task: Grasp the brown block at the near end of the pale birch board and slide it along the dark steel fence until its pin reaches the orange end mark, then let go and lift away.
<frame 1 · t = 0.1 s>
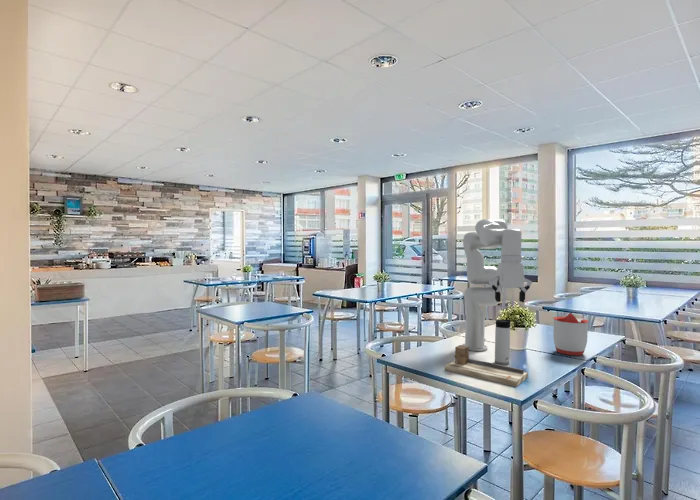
hand: (509, 301, 169), 31 cm above the table, tool pointing down, fingers open, 9 cm apart
brown block: (460, 355, 181), point 6 cm above the table, slide at 0.0 cm
board: (485, 373, 175), on the table
citrus juicer: (570, 353, 209), on the table
travel mug: (502, 363, 190), on the table
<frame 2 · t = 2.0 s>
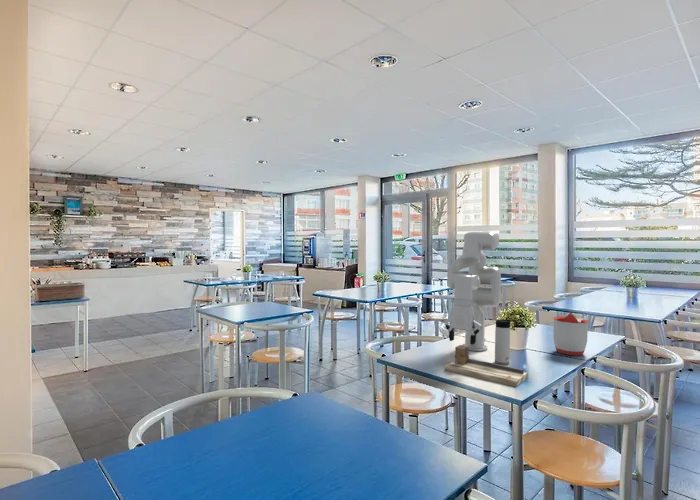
hand: (461, 342, 182), 11 cm above the table, tool pointing down, fingers open, 9 cm apart
nothing on the table moved.
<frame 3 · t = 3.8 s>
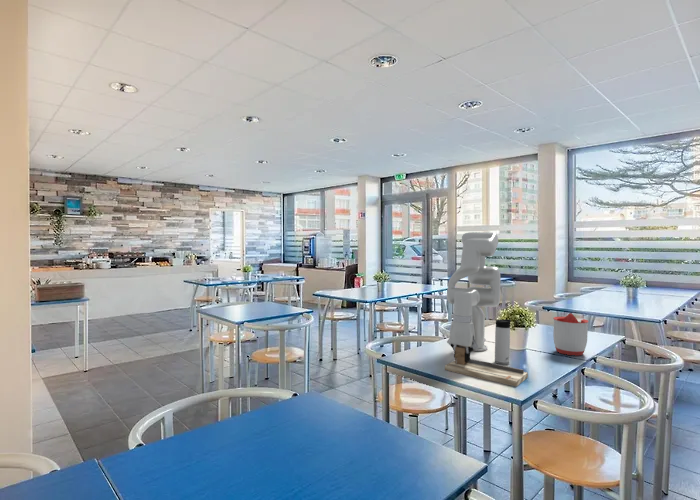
hand: (461, 360, 182), 3 cm above the table, tool pointing down, fingers closed on brown block, 4 cm apart
brown block: (460, 355, 181), point 6 cm above the table, slide at 0.0 cm, touching gripper
everything else where it was.
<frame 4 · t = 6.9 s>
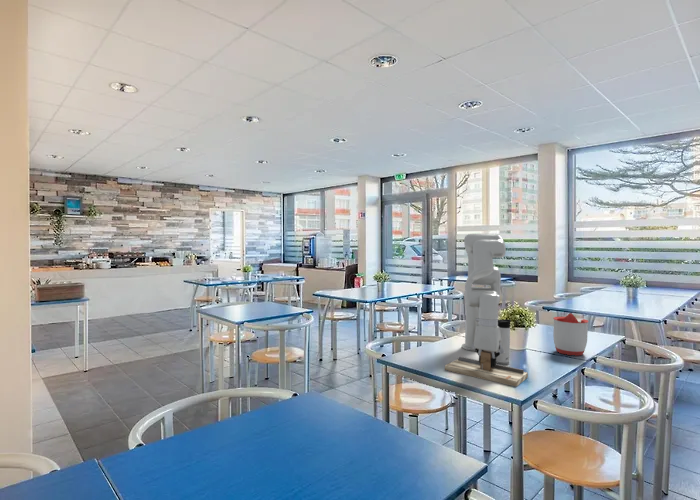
hand: (487, 365, 175), 3 cm above the table, tool pointing down, fingers closed on brown block, 4 cm apart
brown block: (485, 360, 174), point 6 cm above the table, slide at 11.4 cm, touching gripper
everything else where it was.
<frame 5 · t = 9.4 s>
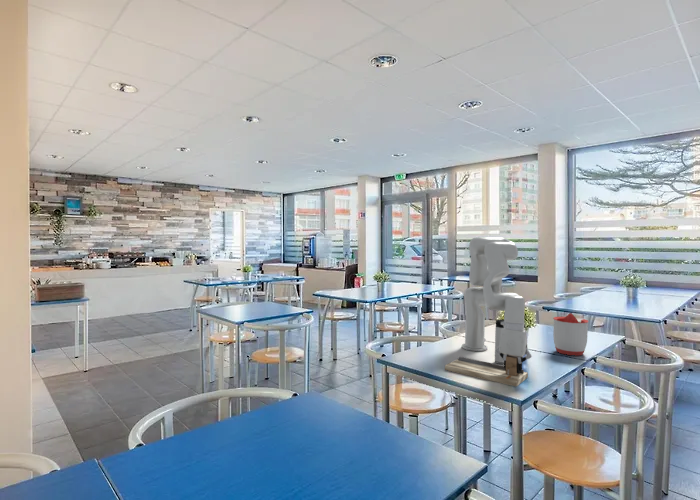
hand: (512, 370, 168), 3 cm above the table, tool pointing down, fingers closed on brown block, 4 cm apart
brown block: (511, 365, 167), point 6 cm above the table, slide at 21.9 cm, touching gripper
everything else where it was.
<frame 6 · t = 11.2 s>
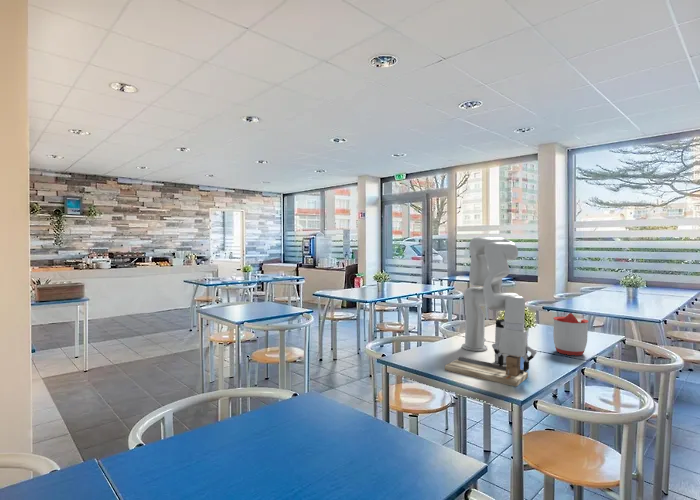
hand: (513, 368, 168), 4 cm above the table, tool pointing down, fingers open, 9 cm apart
brown block: (511, 365, 167), point 6 cm above the table, slide at 22.0 cm
everything else where it was.
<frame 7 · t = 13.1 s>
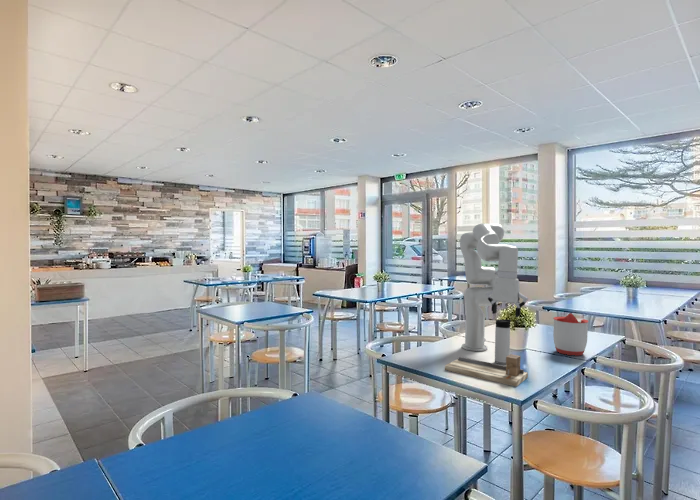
hand: (505, 315, 177), 24 cm above the table, tool pointing down, fingers open, 9 cm apart
nothing on the table moved.
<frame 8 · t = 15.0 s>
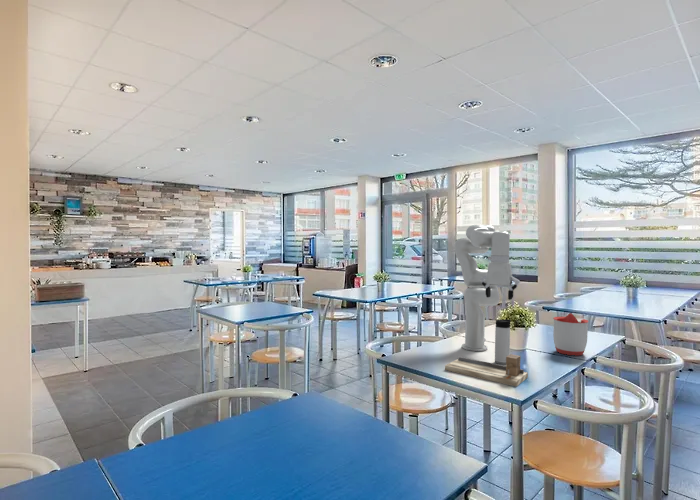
hand: (499, 298, 185), 30 cm above the table, tool pointing down, fingers open, 9 cm apart
nothing on the table moved.
at the end: brown block slide at 22.0 cm; the gripper is holding nothing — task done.
